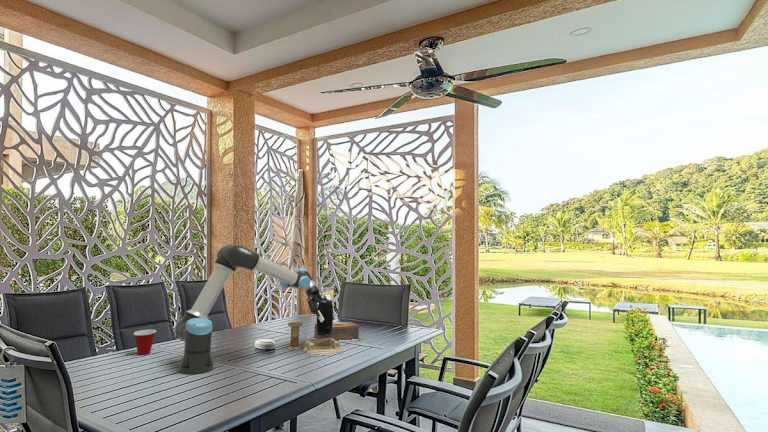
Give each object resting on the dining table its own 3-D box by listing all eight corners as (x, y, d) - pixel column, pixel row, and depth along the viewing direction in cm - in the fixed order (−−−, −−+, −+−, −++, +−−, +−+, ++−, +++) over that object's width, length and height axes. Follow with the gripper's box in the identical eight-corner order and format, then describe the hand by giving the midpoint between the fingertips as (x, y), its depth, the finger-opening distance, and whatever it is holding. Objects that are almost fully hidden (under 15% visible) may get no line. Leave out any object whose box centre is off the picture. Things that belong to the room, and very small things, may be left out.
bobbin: (303, 348, 244) (304, 324, 246) (288, 350, 241) (290, 324, 242) (299, 345, 252) (300, 321, 253) (285, 346, 248) (286, 322, 249)
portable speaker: (333, 335, 238) (334, 301, 239) (316, 336, 235) (318, 301, 237) (331, 332, 246) (332, 299, 247) (315, 333, 244) (316, 299, 245)
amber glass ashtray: (343, 354, 236) (343, 344, 236) (310, 357, 227) (311, 346, 228) (333, 346, 252) (333, 337, 252) (302, 349, 243) (302, 339, 244)
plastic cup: (127, 354, 221) (129, 331, 222) (146, 350, 231) (148, 328, 232) (139, 357, 216) (141, 334, 217) (159, 353, 226) (160, 330, 227)
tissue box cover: (350, 336, 283) (351, 321, 284) (358, 341, 270) (359, 325, 271) (314, 339, 272) (314, 323, 273) (320, 344, 259) (321, 327, 260)
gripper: (321, 292, 260) (338, 321, 249) (294, 295, 244) (311, 326, 232) (327, 284, 257) (345, 313, 246) (300, 286, 241) (318, 318, 230)
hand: (328, 320), depth 239 cm, fingers closed on portable speaker, 9 cm apart
